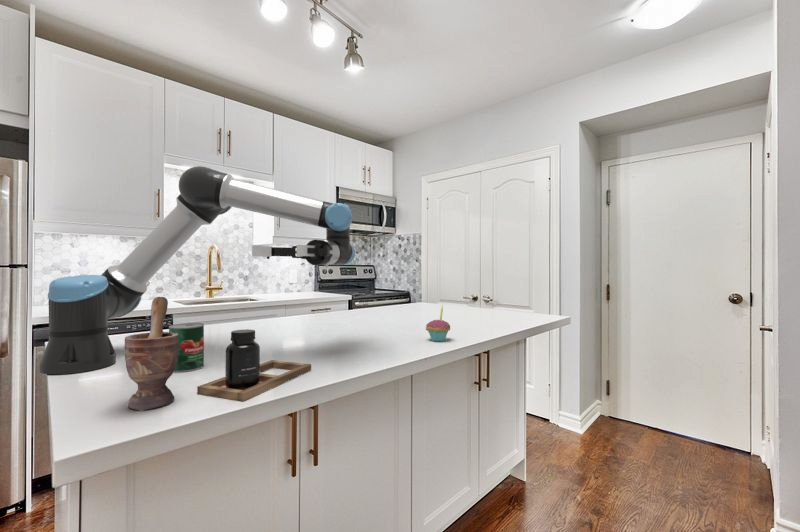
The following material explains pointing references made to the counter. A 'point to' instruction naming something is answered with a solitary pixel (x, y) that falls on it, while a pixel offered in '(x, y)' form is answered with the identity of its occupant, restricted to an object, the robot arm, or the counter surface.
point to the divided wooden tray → (265, 383)
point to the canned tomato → (189, 346)
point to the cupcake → (438, 329)
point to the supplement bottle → (242, 360)
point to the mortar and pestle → (152, 360)
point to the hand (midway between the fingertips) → (274, 250)
